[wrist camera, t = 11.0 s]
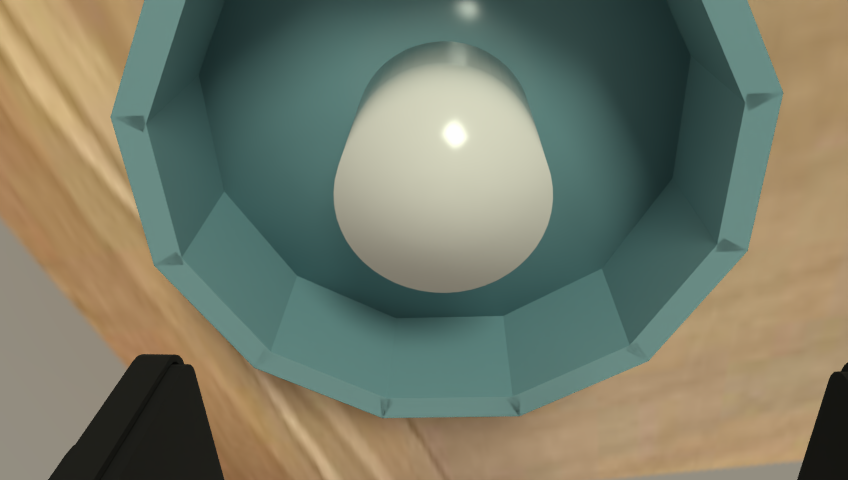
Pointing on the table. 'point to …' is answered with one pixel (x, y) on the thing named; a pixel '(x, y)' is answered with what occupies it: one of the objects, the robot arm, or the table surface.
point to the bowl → (564, 151)
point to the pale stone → (443, 171)
